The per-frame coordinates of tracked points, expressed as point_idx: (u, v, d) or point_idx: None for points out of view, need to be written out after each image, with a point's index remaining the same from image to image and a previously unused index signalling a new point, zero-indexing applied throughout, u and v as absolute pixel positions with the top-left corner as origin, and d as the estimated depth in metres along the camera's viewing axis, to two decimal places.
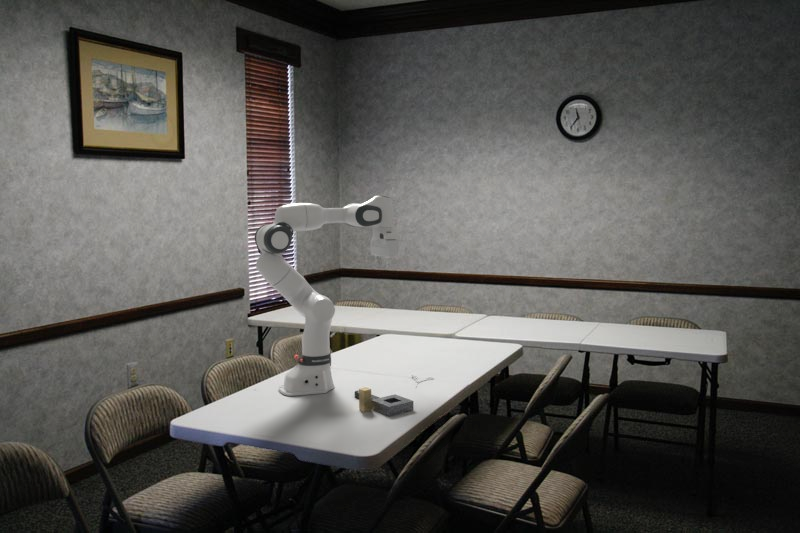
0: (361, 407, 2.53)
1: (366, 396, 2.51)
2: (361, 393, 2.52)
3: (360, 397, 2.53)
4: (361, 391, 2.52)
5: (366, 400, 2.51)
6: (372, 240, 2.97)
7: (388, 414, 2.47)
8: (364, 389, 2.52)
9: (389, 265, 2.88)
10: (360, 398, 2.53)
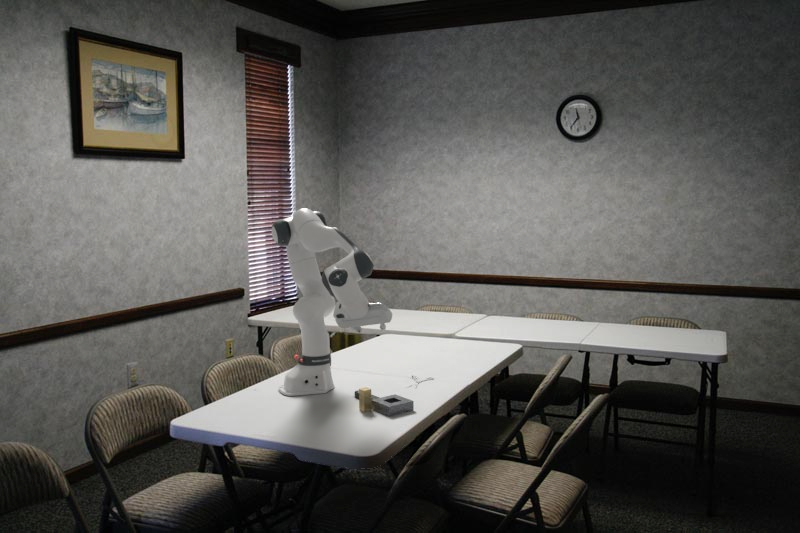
0: (361, 407, 2.53)
1: (366, 396, 2.51)
2: (361, 393, 2.52)
3: (360, 397, 2.53)
4: (361, 391, 2.52)
5: (366, 400, 2.51)
6: None
7: (388, 414, 2.47)
8: (364, 389, 2.52)
9: None
10: (360, 398, 2.53)
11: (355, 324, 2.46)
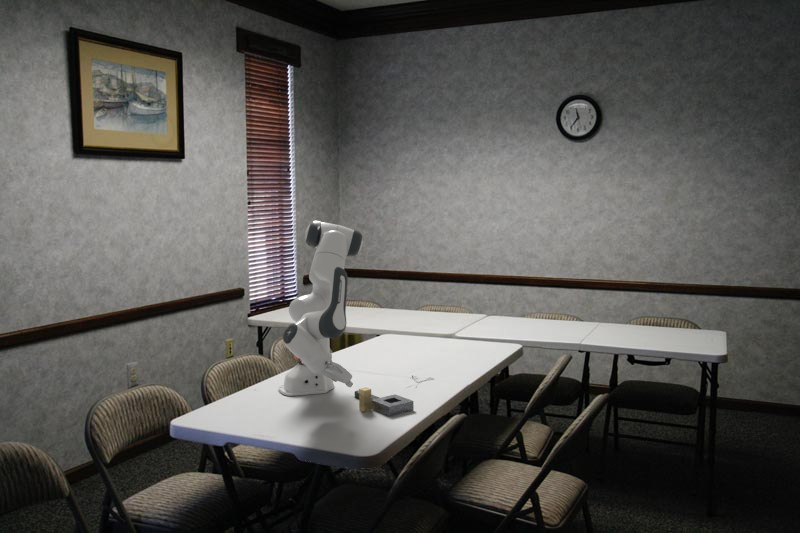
0: (361, 407, 2.53)
1: (366, 396, 2.51)
2: (361, 393, 2.52)
3: (360, 397, 2.53)
4: (361, 391, 2.52)
5: (366, 400, 2.51)
6: (338, 364, 2.36)
7: (388, 414, 2.47)
8: (364, 389, 2.52)
9: None
10: (360, 398, 2.53)
11: (324, 374, 2.46)
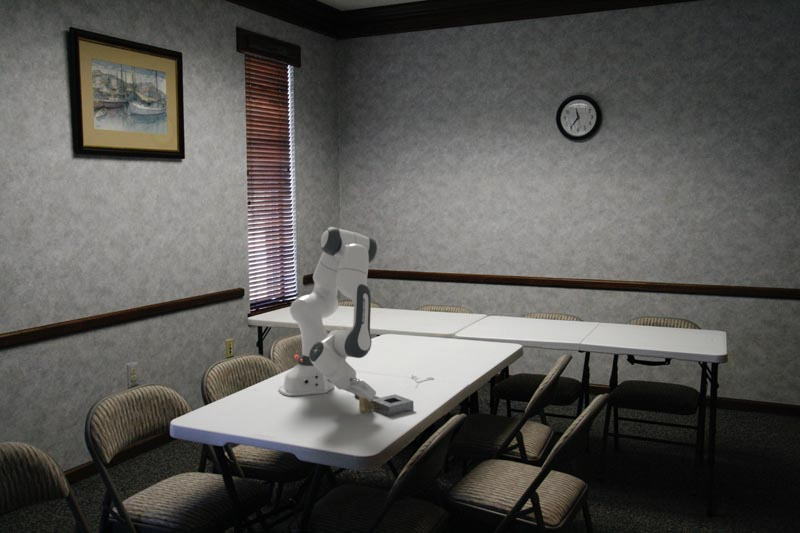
0: (361, 407, 2.53)
1: None
2: None
3: (360, 397, 2.53)
4: None
5: (366, 400, 2.51)
6: (362, 381, 2.43)
7: (388, 414, 2.47)
8: None
9: None
10: (360, 398, 2.53)
11: (347, 390, 2.52)
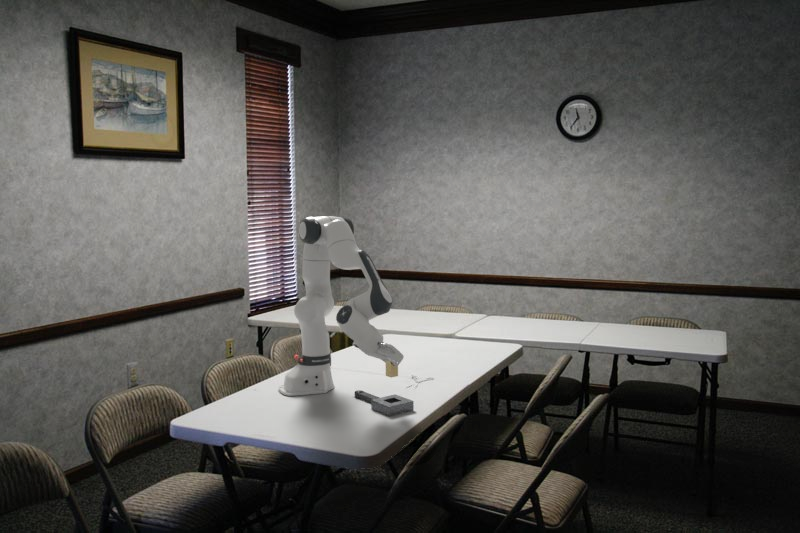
0: (388, 372, 2.52)
1: None
2: None
3: (387, 362, 2.52)
4: None
5: None
6: None
7: (388, 414, 2.47)
8: None
9: None
10: (386, 364, 2.52)
11: (374, 355, 2.51)
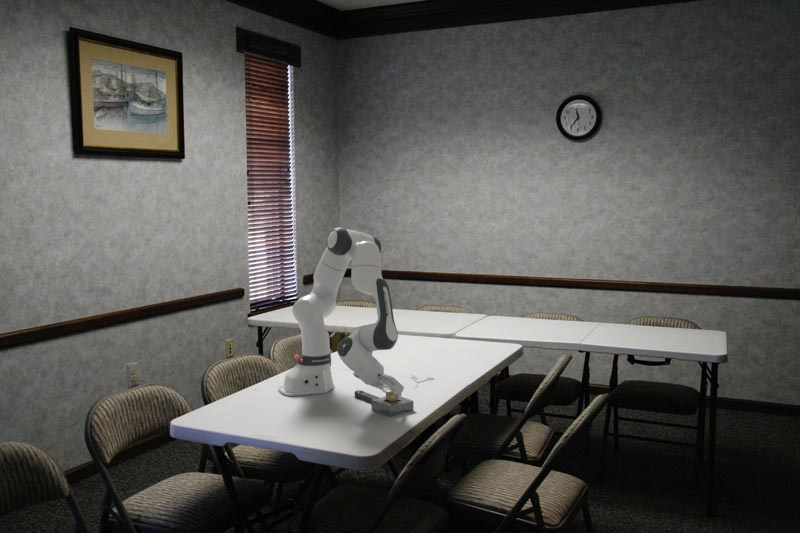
0: None
1: (393, 395, 2.52)
2: (387, 392, 2.52)
3: (387, 396, 2.53)
4: None
5: (393, 399, 2.52)
6: None
7: (388, 414, 2.47)
8: None
9: None
10: (387, 398, 2.53)
11: (374, 385, 2.52)
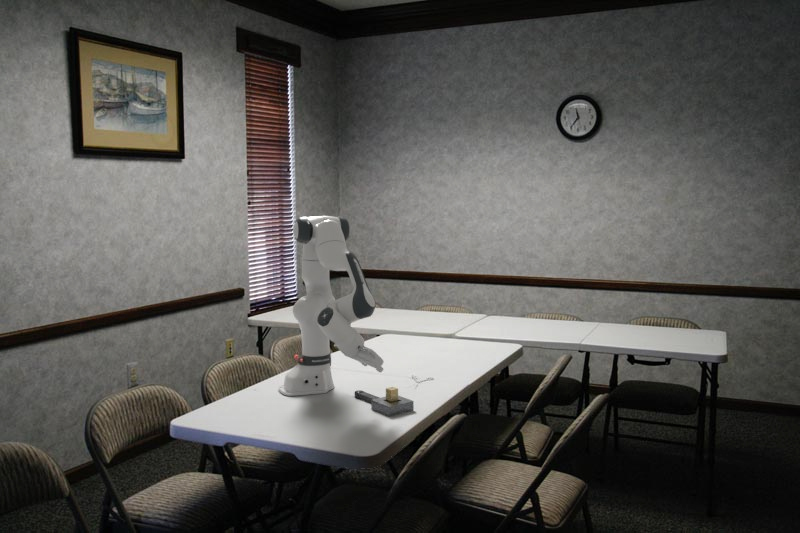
0: None
1: (393, 395, 2.52)
2: (387, 392, 2.52)
3: (387, 396, 2.53)
4: (388, 390, 2.52)
5: (393, 399, 2.52)
6: None
7: (388, 414, 2.47)
8: (391, 388, 2.52)
9: None
10: (387, 398, 2.53)
11: (355, 358, 2.50)
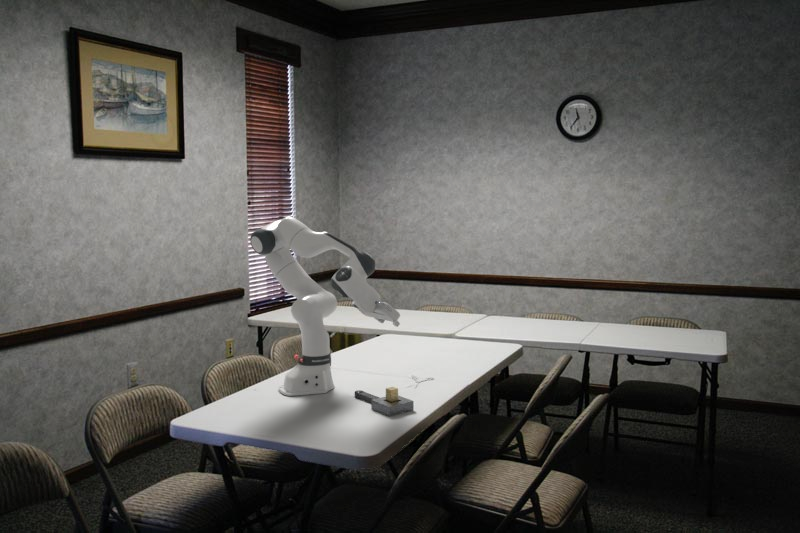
0: None
1: (393, 395, 2.52)
2: (387, 392, 2.52)
3: (387, 396, 2.53)
4: (388, 390, 2.52)
5: (393, 399, 2.52)
6: None
7: (388, 414, 2.47)
8: (391, 388, 2.52)
9: None
10: (387, 398, 2.53)
11: (372, 315, 2.64)
